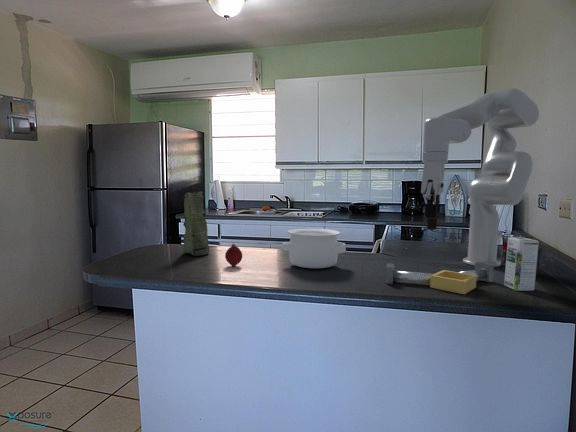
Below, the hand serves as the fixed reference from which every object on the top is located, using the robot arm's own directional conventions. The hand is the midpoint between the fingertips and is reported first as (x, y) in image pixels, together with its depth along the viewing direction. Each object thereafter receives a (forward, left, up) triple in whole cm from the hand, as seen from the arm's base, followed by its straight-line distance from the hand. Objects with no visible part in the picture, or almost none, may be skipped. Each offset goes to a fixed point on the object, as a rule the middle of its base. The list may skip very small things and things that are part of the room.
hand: (432, 215), depth 125 cm
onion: (+37, -53, -20) cm, 68 cm away
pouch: (+34, -80, -20) cm, 89 cm away
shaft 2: (-1, +13, -19) cm, 23 cm away
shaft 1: (+14, +1, -19) cm, 24 cm away
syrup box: (-4, +25, -20) cm, 32 cm away
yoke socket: (+9, +11, -19) cm, 24 cm away
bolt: (0, 0, -5) cm, 5 cm away
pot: (+17, -34, -20) cm, 43 cm away
